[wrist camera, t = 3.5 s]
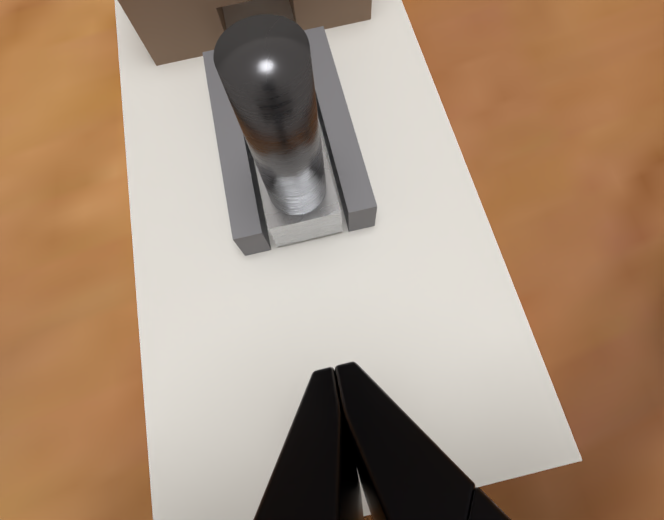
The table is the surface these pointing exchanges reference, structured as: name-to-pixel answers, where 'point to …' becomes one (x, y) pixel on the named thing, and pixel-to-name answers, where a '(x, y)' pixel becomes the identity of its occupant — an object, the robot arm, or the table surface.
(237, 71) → the bolt
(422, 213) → the base
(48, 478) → the table surface
